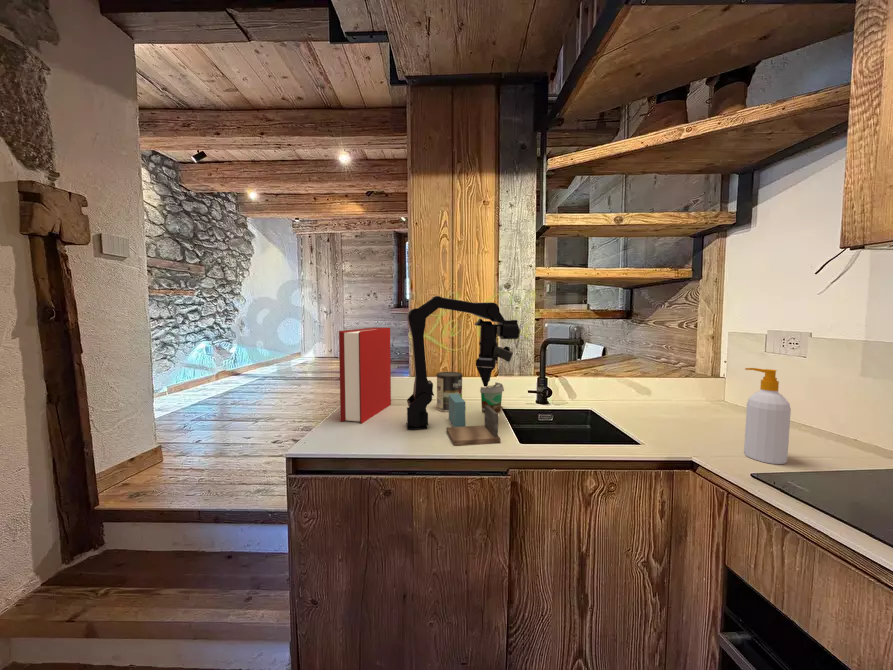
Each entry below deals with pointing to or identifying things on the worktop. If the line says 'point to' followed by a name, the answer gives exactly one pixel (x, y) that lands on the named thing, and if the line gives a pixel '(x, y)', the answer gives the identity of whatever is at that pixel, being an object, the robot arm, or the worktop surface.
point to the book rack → (477, 431)
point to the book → (364, 373)
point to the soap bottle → (767, 422)
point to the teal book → (456, 410)
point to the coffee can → (447, 388)
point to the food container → (492, 396)
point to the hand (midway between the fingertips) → (486, 383)
